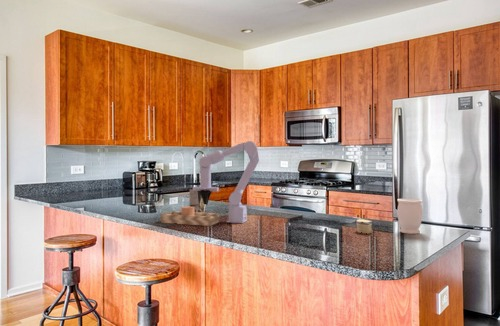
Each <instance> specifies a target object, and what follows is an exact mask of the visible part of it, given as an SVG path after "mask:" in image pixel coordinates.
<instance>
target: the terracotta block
mask: <svg viewBox="0 0 500 326" xmlns="http://www.w3.org/2000/svg"><path fill="white" fill-rule="evenodd" d="M180 212H181V215H190V216H195V215H194V207H190V206H186V205H185V206H183V207H181V211H180Z"/></svg>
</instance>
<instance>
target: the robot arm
mask: <svg viewBox="0 0 500 326" xmlns="http://www.w3.org/2000/svg"><path fill="white" fill-rule="evenodd" d="M237 152H245V153H246V154H247V155H248V159H249V161H248V163H247V165H246V167H245V169H244V171H243V173H242V175H241V177H240V179H239V181H238V183H237V185H236V187H235V189H234V191H233V192H231V193H230V195H229V196H228V202H229V203H228V219H227V220H226V221H225V222H226V223H234V224H235V223H236V224H243V223H245V222H247V221H248V209H247V208H248V207H247V205H244V204H243V203H242V202H241V200H242V196H243V193H244V191H245V189H246V187H247V185H248V184H249V181H250V179H251V177H252V175H253V173H254V171H255V170H256V167H257V165H258V163H259V160H260V158H259V150H258V147H257V145H256V143H255V142H254V141H252V140H247V141H246V142H242V143H241V142H240V143H238V144H236V145H234V146H232V147H229V148H227V149H225V150H223V151H222V150H220V149H219V150H217V149H216V150H214V151H213V152H212V153H209V154H206V156H202V157H201V158H199V161H198V162H199V165H200V166H199V169H200V171H199V181H200V183H199V184H200V185H199V186H192V189H193V191H195V190H197V191H200V194H201V196H202V199H203V202H204V206H205V205H208V204H209V199H210V198H211V195H212V193H213V192H219V189H220V187H217V186H212V170H211V165H215V164H217V163H219V162H222V161H224V160H225V157H227V156H230V155H232V154H233V155H234V154H235V153H237ZM201 189H204V190H201Z"/></svg>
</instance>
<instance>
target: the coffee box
mask: <svg viewBox="0 0 500 326" xmlns="http://www.w3.org/2000/svg"><path fill="white" fill-rule="evenodd" d="M201 190H205V189H201ZM189 207H194V212H199V213H206V212H205V211H206V209H205V204H204V202H203V199H202V196H201V194H200V191H197V190H195V191H193V188H190V189H189Z"/></svg>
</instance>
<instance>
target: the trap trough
mask: <svg viewBox="0 0 500 326" xmlns="http://www.w3.org/2000/svg"><path fill="white" fill-rule="evenodd" d="M194 215H195V216H190V215H181V211H177V210H176V211H175V210H170V211H168V212H163V213H161V214H160V223H161V224H174V223H177V225H191V226H192V225H193V226H205V227H207V226H208V227H211V226H213V225H216V224H218V223H219V222H220V213H218V212H216V213H213V212H205V213H199V212H194Z"/></svg>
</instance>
